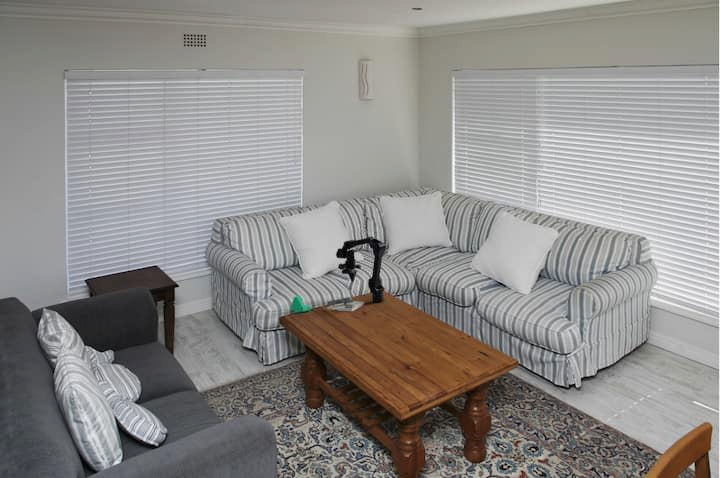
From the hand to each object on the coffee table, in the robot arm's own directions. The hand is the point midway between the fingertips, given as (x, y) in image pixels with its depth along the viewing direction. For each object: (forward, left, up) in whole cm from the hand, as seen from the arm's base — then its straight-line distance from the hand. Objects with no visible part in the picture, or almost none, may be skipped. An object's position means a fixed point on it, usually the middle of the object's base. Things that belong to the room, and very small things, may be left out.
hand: (352, 281), depth 407 cm
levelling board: (-4, +21, -12) cm, 24 cm away
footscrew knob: (-2, +23, -10) cm, 25 cm away
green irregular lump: (+22, +33, -12) cm, 41 cm away
